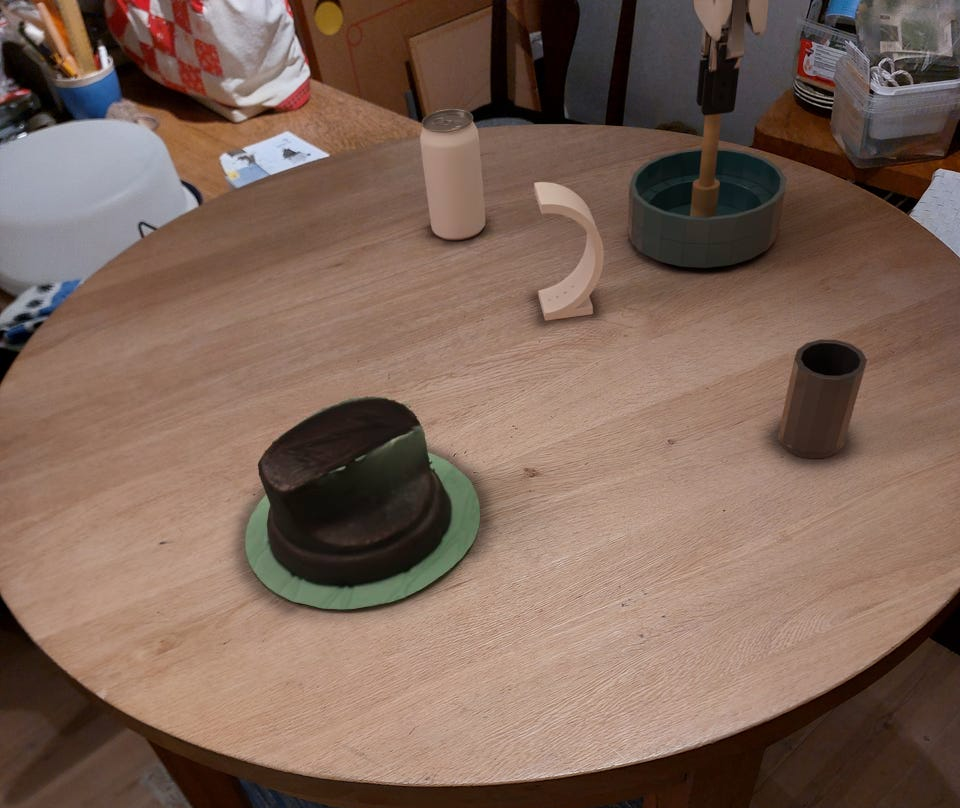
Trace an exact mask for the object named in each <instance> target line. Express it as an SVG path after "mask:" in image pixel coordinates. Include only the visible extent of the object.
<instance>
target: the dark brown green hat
mask: <svg viewBox="0 0 960 808" xmlns="http://www.w3.org/2000/svg"><path fill="white" fill-rule="evenodd" d="M410 408H412V406H411V405H410V402H399V401H398V400H397V399H389V398H387V396H383V397H382V396H369V395H367V396H364V397H356V398H355V397H353V398H352V397H349V398H348V399H345V400H342V401H340V402H338V403H335V404H333V405H330V406H327V407H322V408H320V409H319V410H317V411H316V412H315V413H313V414H311V415H310V416H309V415H308V416H307V417H305V418H304V419H302V420H301V421H299V422H298V423H297V424H296V425H294V426H293V427H292V428H290V429H287V430H286V431H285V432H284V433H282V434H281V435H279V436H278V438H276V439H275V440H273V441H272V443H271V445H269V447H268V448H267V449H266V450H264V453H263V454H262V456H261V457H260V459H259V461H258V463H257V470H258V476H259V479H260V482H261V484H262V486H263V488H264V492H265V495H264V496H263V497H262V499H261V500H260V502H259V503H257V504H258V505H257V506H256V507H255V508H254V510H253V512H252V514H251V515H250V517H249V520H248V523H247V526H246V530H245V537H244V539H245V541H244V545H245V553H246V558H247V560H248V563H249V566H250V568H251V570H252V571H253V572H254V574H255V575H256V577H257V578H258V579H259V581H261V583H262V584H263V585H264V586H265V587H267V588H268V589H269V590H271V591H272V592H274V594H276V595H278V596H281V597H283V598H285V599H287V600H288V601H291V602H293V603H297V604H303V605H308V606H311V607H316V608H319V609H324V610H326V609H327V610H352V609H353V610H354V609H360V608H366V607H374V606H379V605H382V604H389V603H392V602H396V601H398V600H402V599H404V598H406V597H408V596H410V595H412V594H414V593H416V592H418V591H420V590H422V589H423V588H425V587H428V585H430V584H432V583H433V582H435V581H436V580H438V579H439V578H440V577H441V576H443V575H444V574H446V573H447V572H448V571H450V570H451V569H452V568H453V567H454V566H455V565H456V564H457V563H458V562H459V561H460V560H461V559H463V558H464V556H465V555H466V554H467V552H468V550H469V549H470V548H471V546H472V545H473V543H474V542H475V540H476V537H477V535H478V532H479V528H480V521H481V507H480V501H479V497H478V495H477V492H476V490H475V488H474V485H473V483H472V481H471V480H470V479H469V478H468V476H466V475H465V474H464V473H463V472H462V471H461V470H460V469H458V468H457V467H456V466H455V465H454V464H452V463H451V462H450V461H448V460H446V459H444V458H442V457H440V456H438V455H437V454H434V453H431V452H429V451H428V444H427V440H426V434H425V430H424V428H423V426H422V424H421V423H420V421H419V419H418V416H417V415H416V414H415V413H414V411H413V410H412V409H410Z"/></svg>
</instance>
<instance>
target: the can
mask: <svg viewBox="0 0 960 808" xmlns="http://www.w3.org/2000/svg"><path fill="white" fill-rule="evenodd" d="M421 125H422V129H421V132H420V137H419V142H420V151H421V152H420V153H421V159H422V167H423V175H424V183H425V190H426V198H427V204H428V212H429V220H430V228H431V230H432V232H433V233H434V234H435V235H436V236H437V237H438V238H439V239H442V240H446V241H465V240H467V239H468V240H469V239H471V238H473V237H475V236H478V235H479V234H480V233H481V232H482V230H483V229H484V227H485V226H486V209H485V208H486V206H485V197H484V196H485V195H484V183H483V171H482V160H481V159H482V158H481V148H480V137H479V131H478V127H477V126H476V124H475V122H474V116H473V114H472V113H471V112H470V111H468V110H466V109H460V108H445V109H441V110H436V111H434V112H431V113H429V114H427V115H425V116H424V117H423V118H422V120H421Z"/></svg>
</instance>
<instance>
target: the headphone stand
mask: <svg viewBox="0 0 960 808" xmlns="http://www.w3.org/2000/svg"><path fill="white" fill-rule="evenodd" d="M533 186H534V187H533V191H534V195H535V198H536V201H537V204H538V208H539V210H540V212H541V215H542V214H554V215H555V214H556V215H561V216H564V217H567V218H569V219H572V220H573V221H575V222H576V223H578V224H579V225H580V226H582V228H583V229H584V230H585V231H586V244H585V248H584V251H583V254H582V256H581V259H580V260H579V262H578V264H577V265H576V267H575V268H574V269H573V270H572V271H571V272H570V274H569V275H568V276H566V277H565V278H564V279H562V280H561V281H560V282H558V283H556V284H554V285H552V286H549V287H546V288H543V289H538V300H539V304H540V307H541V311H542V314H543V315H542V316H543V318H544V321H545V322H546V321H553V320H560V319H567V318H568V319H569V318H574V317H575V318H576V317H581V316H590V315H593V314H594V306H593V303H592V301H591V297H590V296H591V294H592V293H593V292H594V289H595V288H596V287H597V284H598V282H599V281H600V278H601V275H602V271H603V267H604V261H605V258H604V257H605V255H604V254H605V252H604V245H603V240H602V239H601V236H600V233H599V230H598V228H597V224H596V223H595V220H594V217H593V215H592V212H591V210H590V208H589V206H588V205H587V204H586V202H585V201H584V199H582V197H581V196H580V195H578V194H577V193H576V192H575V191H573V190H572V189H570V188H568V187H567V186H565V185H561V184H558V183H555V182H550V181H549V182H548V181H538V182H536V181H535V182H534V183H533Z"/></svg>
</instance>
